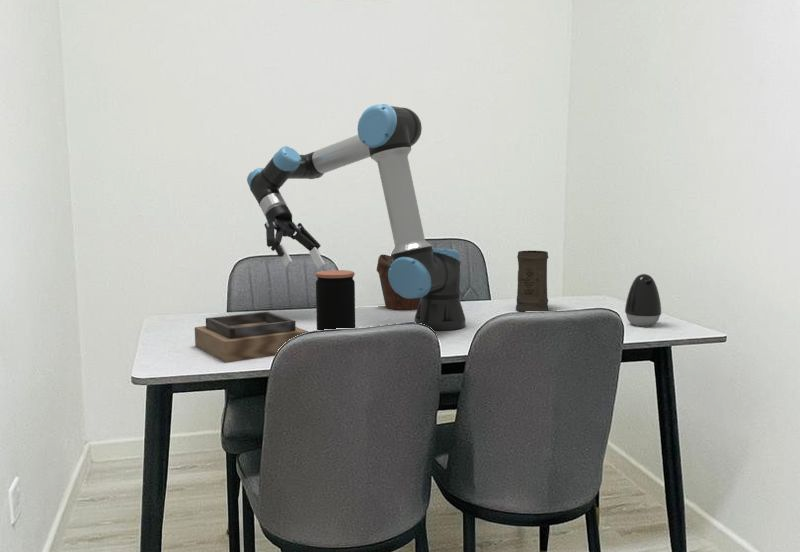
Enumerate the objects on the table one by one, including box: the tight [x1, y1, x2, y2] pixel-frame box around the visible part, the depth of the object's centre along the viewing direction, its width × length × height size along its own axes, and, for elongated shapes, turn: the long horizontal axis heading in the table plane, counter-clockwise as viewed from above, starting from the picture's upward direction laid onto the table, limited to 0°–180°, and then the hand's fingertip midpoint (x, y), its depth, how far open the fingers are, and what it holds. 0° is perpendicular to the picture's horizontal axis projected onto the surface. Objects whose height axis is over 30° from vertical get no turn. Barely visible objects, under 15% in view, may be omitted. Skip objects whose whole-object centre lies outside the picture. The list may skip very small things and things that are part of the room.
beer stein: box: [515, 250, 549, 313], centre depth 251 cm, size 15×11×20 cm
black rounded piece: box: [624, 273, 662, 328], centre depth 223 cm, size 10×10×15 cm
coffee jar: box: [315, 269, 356, 331], centre depth 209 cm, size 11×11×18 cm
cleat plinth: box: [194, 311, 309, 363], centre depth 196 cm, size 22×22×8 cm
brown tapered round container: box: [376, 254, 420, 311], centre depth 257 cm, size 18×20×18 cm
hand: (305, 265), depth 224 cm, fingers open, 13 cm apart
